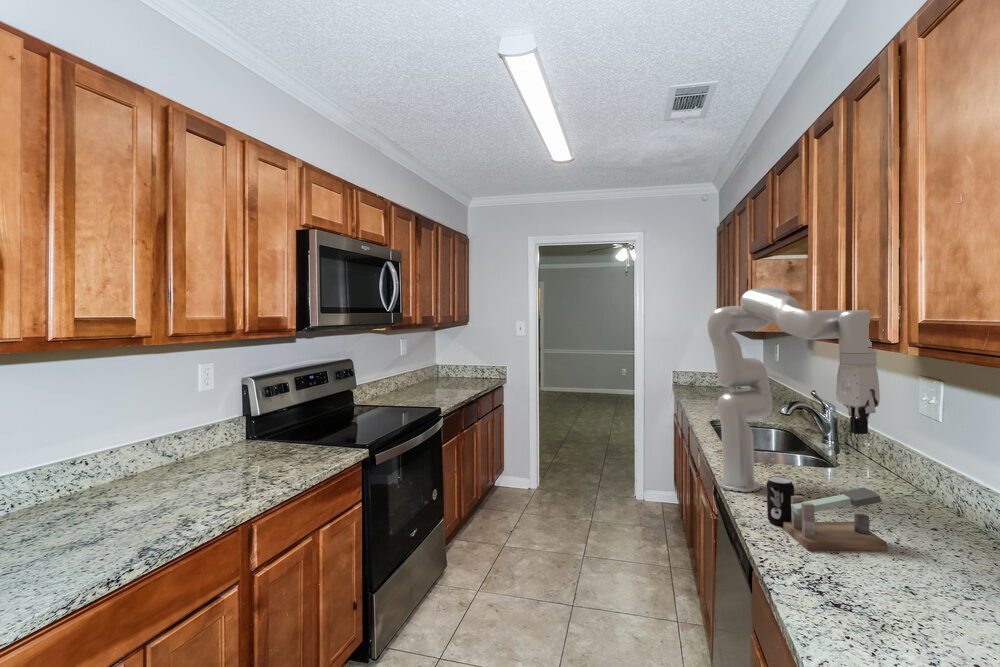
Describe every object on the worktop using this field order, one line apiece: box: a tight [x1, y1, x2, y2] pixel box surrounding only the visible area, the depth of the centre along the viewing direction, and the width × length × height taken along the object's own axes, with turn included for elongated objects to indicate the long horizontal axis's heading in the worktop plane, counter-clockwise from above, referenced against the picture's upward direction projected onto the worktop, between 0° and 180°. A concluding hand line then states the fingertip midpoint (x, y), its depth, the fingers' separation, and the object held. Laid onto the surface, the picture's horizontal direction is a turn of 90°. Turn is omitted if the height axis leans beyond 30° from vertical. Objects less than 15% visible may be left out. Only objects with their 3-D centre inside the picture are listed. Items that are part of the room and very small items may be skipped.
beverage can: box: [766, 475, 795, 527], centre depth 134 cm, size 7×7×12 cm
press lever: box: [791, 486, 882, 515], centre depth 123 cm, size 6×19×2 cm, turn 85°
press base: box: [782, 495, 888, 552], centre depth 123 cm, size 12×18×10 cm, turn 85°
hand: (859, 433), depth 122 cm, fingers closed
